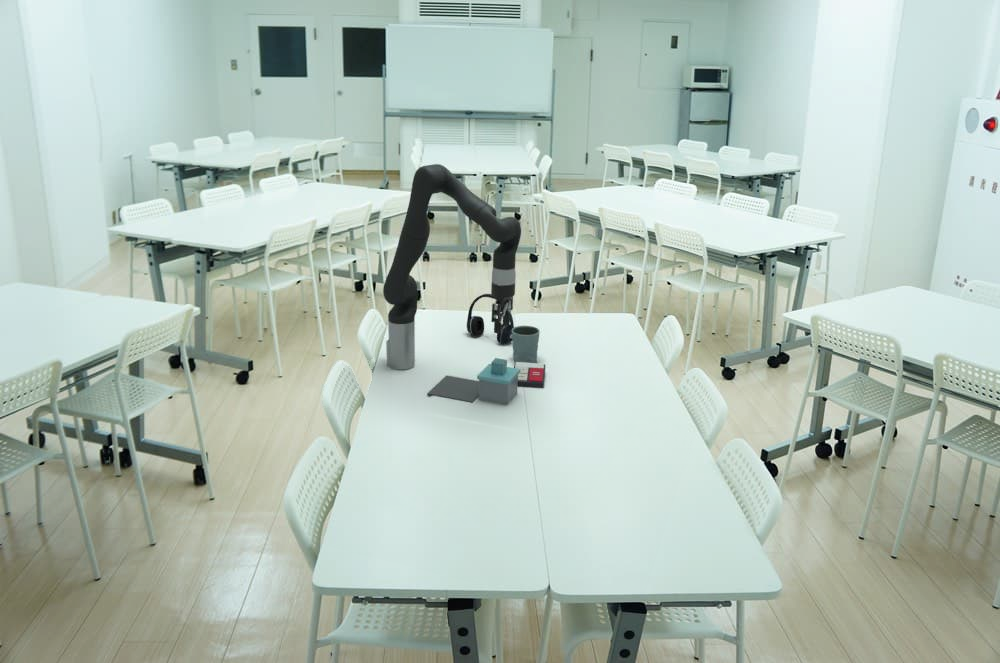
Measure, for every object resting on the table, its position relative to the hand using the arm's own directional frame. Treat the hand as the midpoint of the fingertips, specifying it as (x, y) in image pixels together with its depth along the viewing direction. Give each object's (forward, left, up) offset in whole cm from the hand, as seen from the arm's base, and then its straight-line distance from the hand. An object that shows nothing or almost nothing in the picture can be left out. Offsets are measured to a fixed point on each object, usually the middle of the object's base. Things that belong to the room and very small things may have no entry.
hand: (501, 328), depth 273 cm
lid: (0, -1, -18) cm, 18 cm away
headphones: (-21, +48, -24) cm, 58 cm away
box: (0, -1, -24) cm, 24 cm away
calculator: (+5, +17, -25) cm, 31 cm away
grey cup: (-2, +33, -24) cm, 41 cm away
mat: (-14, -1, -24) cm, 28 cm away
